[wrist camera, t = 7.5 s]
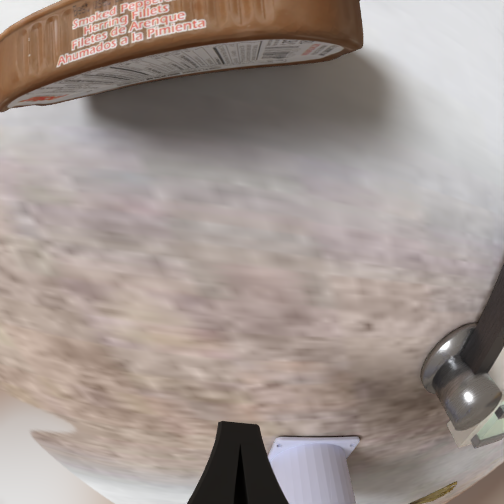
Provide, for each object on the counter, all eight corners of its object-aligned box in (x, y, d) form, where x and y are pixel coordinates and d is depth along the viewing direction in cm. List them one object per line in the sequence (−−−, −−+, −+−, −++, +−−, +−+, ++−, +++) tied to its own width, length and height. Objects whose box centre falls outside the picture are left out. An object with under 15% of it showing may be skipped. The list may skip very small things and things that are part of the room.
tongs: (389, 506, 37) (391, 515, 35) (456, 475, 36) (459, 483, 34) (389, 511, 38) (392, 519, 36) (453, 482, 37) (456, 489, 35)
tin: (329, 22, 13) (396, -48, 5) (335, 77, 14) (415, 43, 6) (55, 65, 13) (-51, 52, 5) (59, 116, 14) (-51, 129, 6)
